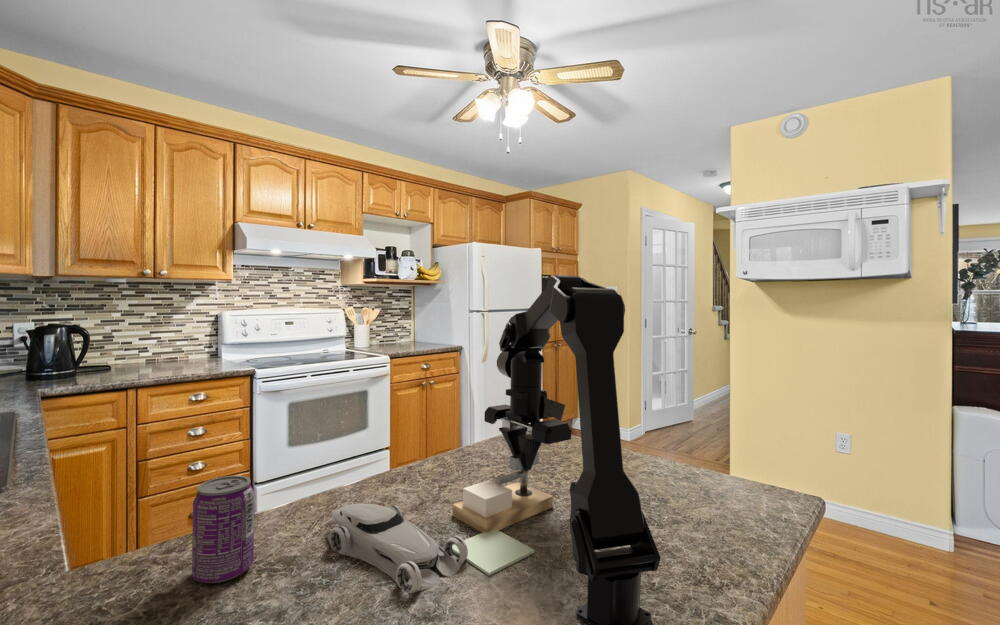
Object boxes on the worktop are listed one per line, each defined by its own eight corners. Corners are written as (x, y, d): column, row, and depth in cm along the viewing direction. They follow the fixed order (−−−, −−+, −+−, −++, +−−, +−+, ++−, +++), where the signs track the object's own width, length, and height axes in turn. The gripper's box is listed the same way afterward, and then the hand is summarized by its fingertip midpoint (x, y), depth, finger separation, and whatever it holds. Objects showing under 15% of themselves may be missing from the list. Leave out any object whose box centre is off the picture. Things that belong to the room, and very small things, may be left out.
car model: (414, 603, 57) (414, 563, 57) (310, 538, 72) (311, 506, 72) (474, 565, 66) (474, 530, 66) (370, 514, 81) (371, 486, 81)
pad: (489, 575, 62) (489, 572, 62) (449, 549, 69) (449, 546, 69) (534, 552, 69) (534, 550, 69) (493, 530, 75) (493, 527, 75)
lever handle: (500, 502, 81) (500, 462, 80) (494, 499, 82) (494, 460, 82) (538, 489, 87) (538, 452, 87) (531, 486, 88) (532, 450, 88)
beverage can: (240, 552, 67) (241, 470, 67) (262, 571, 63) (263, 483, 62) (183, 573, 62) (184, 484, 61) (203, 595, 57) (204, 499, 57)
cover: (485, 517, 75) (485, 499, 75) (462, 505, 80) (463, 488, 80) (511, 507, 79) (512, 490, 79) (488, 496, 84) (489, 479, 84)
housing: (486, 535, 73) (486, 522, 73) (452, 515, 80) (452, 503, 80) (552, 507, 84) (552, 495, 84) (517, 491, 91) (517, 481, 91)
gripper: (594, 388, 83) (592, 475, 83) (526, 374, 98) (525, 448, 98) (548, 394, 76) (546, 488, 76) (483, 379, 91) (482, 457, 91)
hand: (524, 468), depth 85 cm, fingers closed on lever handle, 2 cm apart
